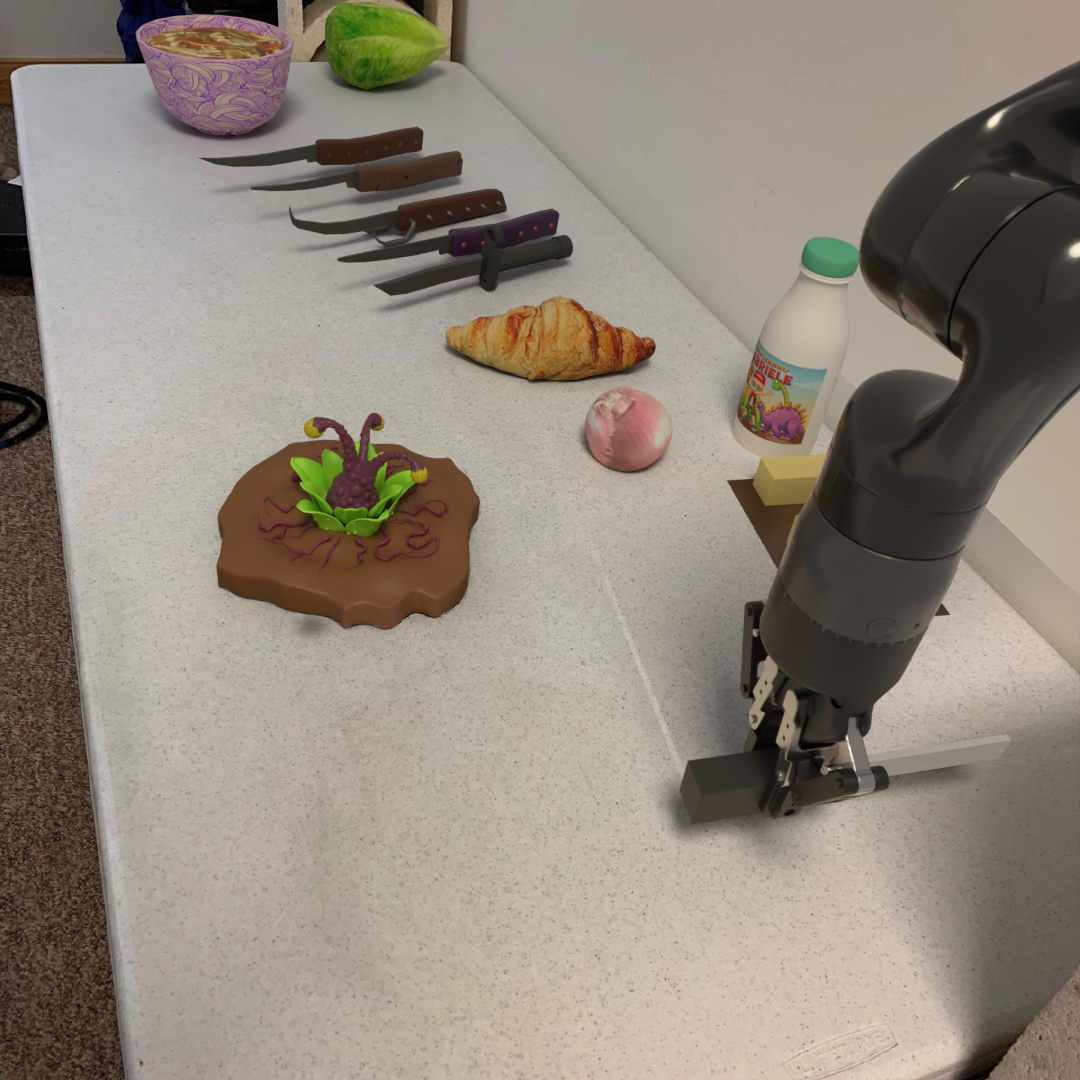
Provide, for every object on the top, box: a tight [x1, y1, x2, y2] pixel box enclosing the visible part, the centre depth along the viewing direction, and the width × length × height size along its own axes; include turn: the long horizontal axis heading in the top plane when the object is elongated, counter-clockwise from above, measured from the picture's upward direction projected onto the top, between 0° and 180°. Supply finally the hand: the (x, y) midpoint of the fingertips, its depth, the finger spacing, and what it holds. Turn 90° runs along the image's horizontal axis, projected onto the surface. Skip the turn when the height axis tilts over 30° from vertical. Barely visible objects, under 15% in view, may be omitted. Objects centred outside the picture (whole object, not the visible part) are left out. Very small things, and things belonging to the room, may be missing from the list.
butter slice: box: [753, 453, 827, 506], centre depth 86 cm, size 8×3×3 cm, turn 103°
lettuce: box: [324, 1, 450, 91], centre depth 155 cm, size 14×20×12 cm
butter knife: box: [678, 733, 1012, 825], centre depth 60 cm, size 21×2×3 cm, turn 103°
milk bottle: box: [731, 236, 859, 458], centre depth 88 cm, size 8×8×20 cm
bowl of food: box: [135, 14, 295, 136], centre depth 135 cm, size 20×20×12 cm
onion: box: [584, 386, 674, 472], centre depth 88 cm, size 8×8×7 cm
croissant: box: [444, 295, 657, 381], centre depth 99 cm, size 21×10×8 cm, turn 93°
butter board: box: [726, 478, 951, 617], centre depth 83 cm, size 12×18×1 cm, turn 13°
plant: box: [215, 412, 481, 630], centre depth 75 cm, size 20×20×11 cm
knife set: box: [198, 126, 574, 297], centre depth 117 cm, size 35×33×8 cm
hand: (765, 788), depth 59 cm, fingers closed on butter knife, 2 cm apart
